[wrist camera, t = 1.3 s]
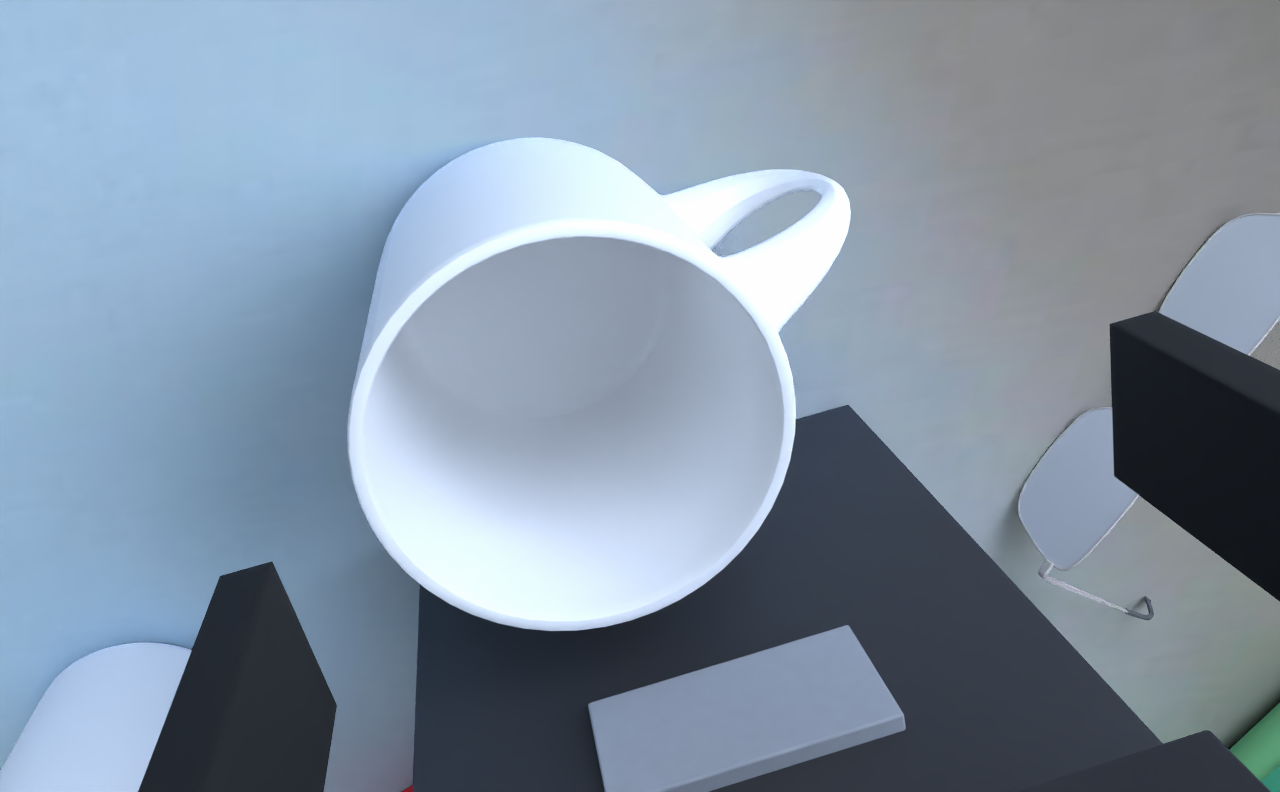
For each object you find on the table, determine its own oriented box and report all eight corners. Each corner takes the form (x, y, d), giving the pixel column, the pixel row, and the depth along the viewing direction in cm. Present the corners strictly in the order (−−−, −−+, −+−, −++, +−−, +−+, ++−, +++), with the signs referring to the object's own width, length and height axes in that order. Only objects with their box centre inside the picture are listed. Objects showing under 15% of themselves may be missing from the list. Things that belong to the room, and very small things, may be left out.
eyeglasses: (1251, 177, 32) (1362, 209, 28) (1384, 286, 35) (1497, 328, 32) (986, 527, 35) (1056, 596, 32) (1130, 597, 38) (1207, 666, 35)
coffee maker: (390, 442, 30) (288, 1382, 10) (835, 318, 31) (1542, 947, 11) (468, 651, 33) (505, 1668, 13) (867, 533, 34) (1455, 1314, 14)
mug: (827, 275, 30) (1007, 419, 21) (483, 470, 31) (503, 701, 21) (702, 6, 27) (851, 28, 17) (316, 232, 27) (246, 378, 18)
